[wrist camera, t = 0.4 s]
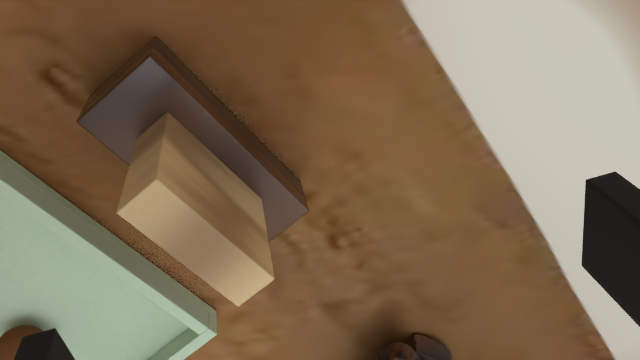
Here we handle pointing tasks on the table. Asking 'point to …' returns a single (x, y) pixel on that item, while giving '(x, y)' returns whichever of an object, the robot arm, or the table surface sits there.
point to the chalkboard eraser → (194, 172)
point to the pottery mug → (415, 350)
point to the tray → (88, 281)
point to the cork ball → (14, 340)
